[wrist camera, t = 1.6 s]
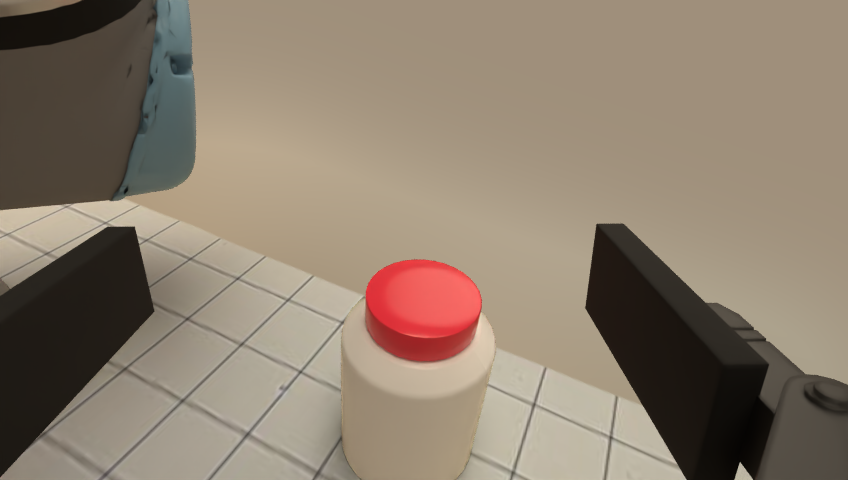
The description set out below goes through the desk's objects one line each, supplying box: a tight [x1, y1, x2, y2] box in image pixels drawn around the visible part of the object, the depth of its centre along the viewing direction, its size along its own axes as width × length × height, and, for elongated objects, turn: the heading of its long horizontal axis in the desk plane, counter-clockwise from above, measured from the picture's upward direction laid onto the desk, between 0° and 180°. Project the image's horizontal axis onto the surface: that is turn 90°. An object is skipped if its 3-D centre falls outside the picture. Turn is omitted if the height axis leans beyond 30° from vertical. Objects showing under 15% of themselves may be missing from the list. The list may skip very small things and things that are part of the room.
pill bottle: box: [341, 260, 496, 480], centre depth 27 cm, size 8×8×11 cm
